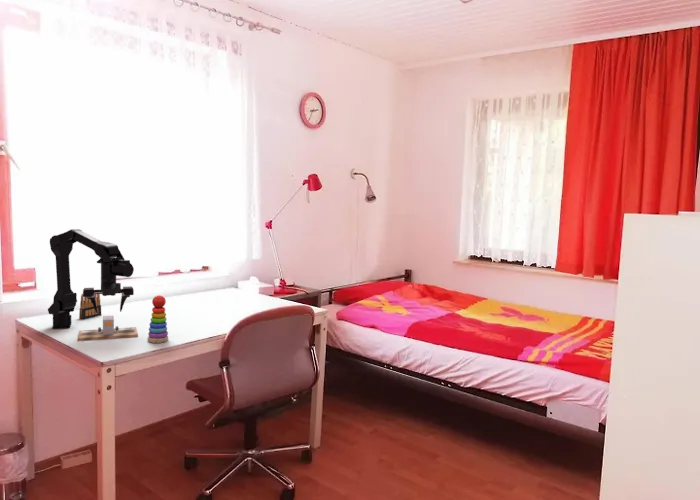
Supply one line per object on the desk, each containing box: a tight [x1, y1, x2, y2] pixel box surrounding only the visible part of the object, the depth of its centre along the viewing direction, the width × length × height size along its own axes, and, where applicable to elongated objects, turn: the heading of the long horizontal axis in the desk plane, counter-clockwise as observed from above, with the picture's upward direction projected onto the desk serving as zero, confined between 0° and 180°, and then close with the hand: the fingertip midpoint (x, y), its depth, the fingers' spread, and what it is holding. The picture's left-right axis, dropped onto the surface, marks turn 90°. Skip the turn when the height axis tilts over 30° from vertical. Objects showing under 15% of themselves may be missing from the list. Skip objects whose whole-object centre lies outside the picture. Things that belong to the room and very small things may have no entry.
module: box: [102, 315, 115, 335], centre depth 214 cm, size 4×7×6 cm, turn 26°
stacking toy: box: [146, 295, 169, 344], centre depth 209 cm, size 8×8×19 cm
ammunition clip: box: [78, 293, 102, 321], centre depth 240 cm, size 11×2×12 cm, turn 157°
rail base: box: [77, 325, 139, 342], centre depth 214 cm, size 22×12×3 cm, turn 116°
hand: (108, 312), depth 213 cm, fingers open, 9 cm apart
